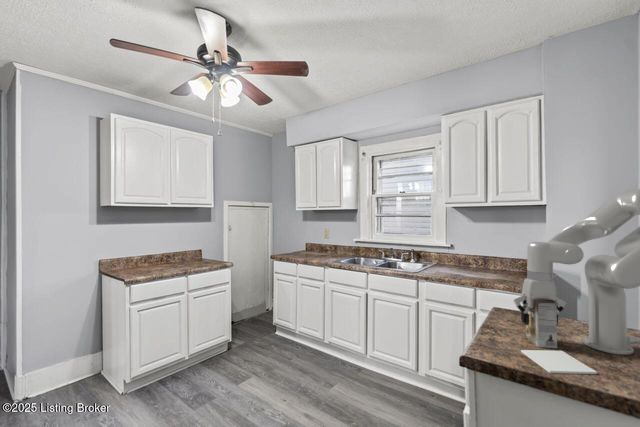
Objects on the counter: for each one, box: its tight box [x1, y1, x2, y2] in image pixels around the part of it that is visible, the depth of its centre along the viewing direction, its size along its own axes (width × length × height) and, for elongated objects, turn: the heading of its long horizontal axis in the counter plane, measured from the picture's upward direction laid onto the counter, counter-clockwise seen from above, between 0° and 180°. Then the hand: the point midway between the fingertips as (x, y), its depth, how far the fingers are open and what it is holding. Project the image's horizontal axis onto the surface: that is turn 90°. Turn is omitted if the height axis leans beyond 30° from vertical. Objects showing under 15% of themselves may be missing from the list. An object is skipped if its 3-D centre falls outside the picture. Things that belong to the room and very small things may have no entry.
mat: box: [520, 349, 598, 375], centre depth 95 cm, size 13×14×1 cm
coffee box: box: [525, 300, 558, 349], centre depth 110 cm, size 9×6×16 cm
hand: (539, 324), depth 110 cm, fingers open, 9 cm apart
